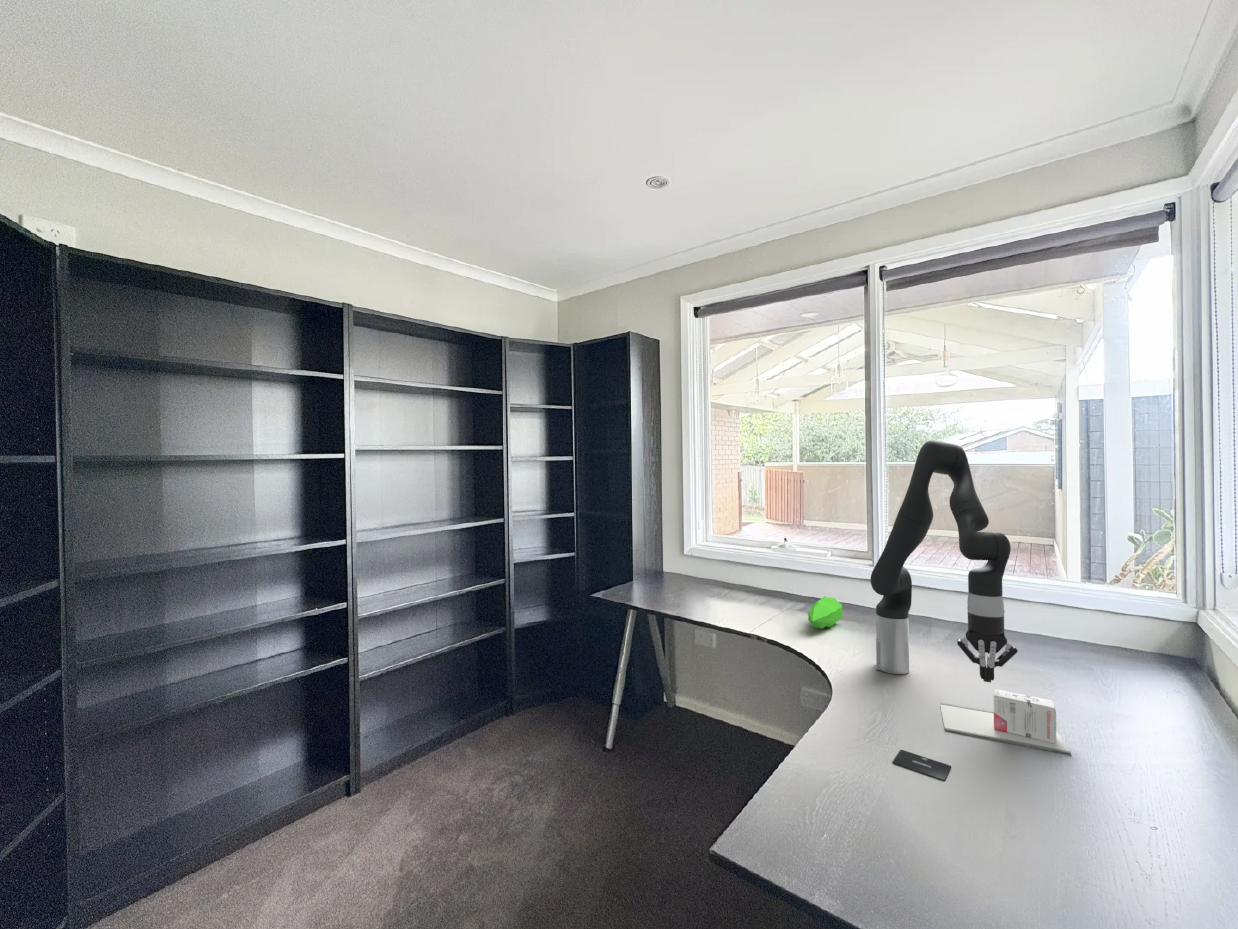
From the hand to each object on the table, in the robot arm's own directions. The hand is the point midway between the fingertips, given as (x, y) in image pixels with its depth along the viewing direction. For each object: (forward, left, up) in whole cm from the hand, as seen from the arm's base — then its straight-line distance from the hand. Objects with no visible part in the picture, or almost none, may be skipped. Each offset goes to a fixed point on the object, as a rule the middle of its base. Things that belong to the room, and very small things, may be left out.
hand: (986, 681), depth 131 cm
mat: (+2, 0, -11) cm, 11 cm away
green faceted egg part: (-46, +67, -11) cm, 82 cm away
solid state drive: (-15, -27, -12) cm, 33 cm away
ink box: (+1, -1, -6) cm, 7 cm away
